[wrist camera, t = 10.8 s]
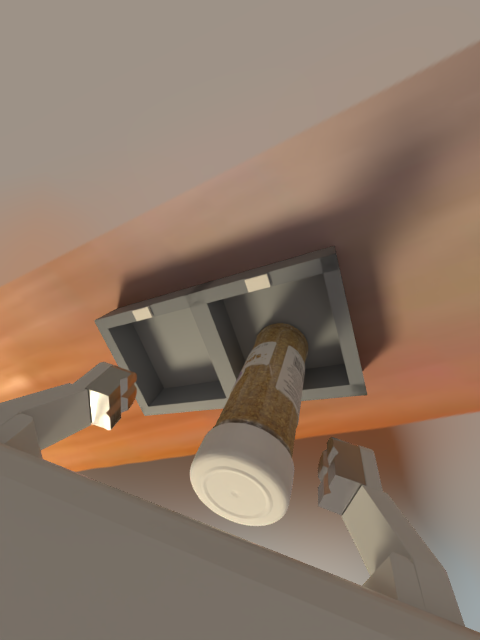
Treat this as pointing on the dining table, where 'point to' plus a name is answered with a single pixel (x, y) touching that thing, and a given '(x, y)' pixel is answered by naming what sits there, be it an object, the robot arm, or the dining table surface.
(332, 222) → the dining table surface
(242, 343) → the grey divided tray
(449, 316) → the dining table surface
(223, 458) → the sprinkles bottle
